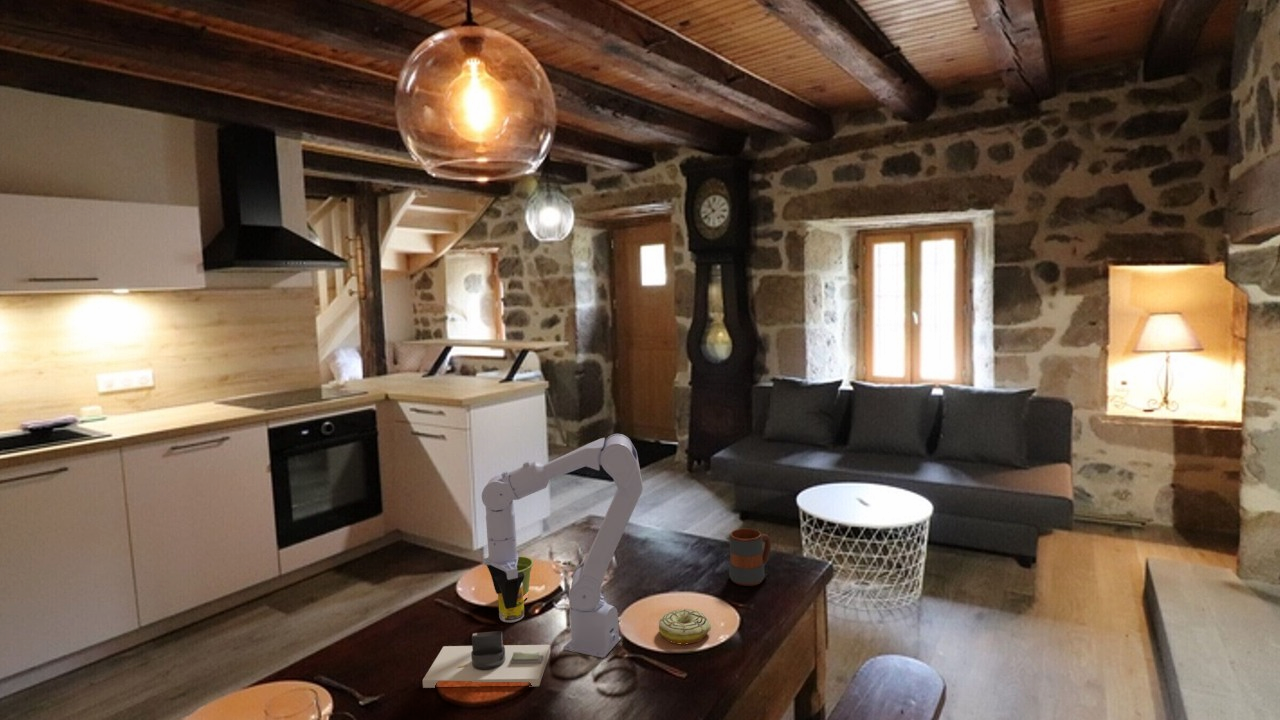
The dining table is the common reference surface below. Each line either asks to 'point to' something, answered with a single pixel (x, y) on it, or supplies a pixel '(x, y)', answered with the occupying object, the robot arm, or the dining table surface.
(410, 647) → the dining table surface
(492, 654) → the knob
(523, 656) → the base plate
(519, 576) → the robot arm
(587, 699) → the dining table surface
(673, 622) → the decorated donut
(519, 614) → the supplement bottle
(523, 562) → the plant pot
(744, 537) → the mug
